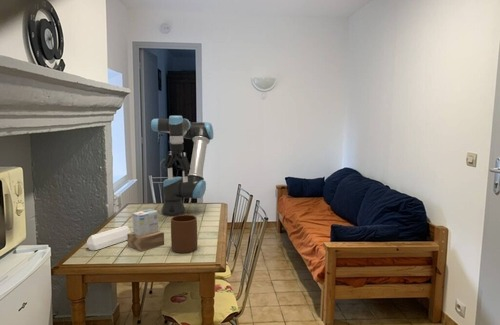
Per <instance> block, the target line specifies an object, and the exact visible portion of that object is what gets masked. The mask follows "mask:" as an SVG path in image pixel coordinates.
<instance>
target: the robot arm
mask: <svg viewBox="0 0 500 325" xmlns="http://www.w3.org/2000/svg"><path fill="white" fill-rule="evenodd" d="M150 129H151V130H152V131H153V132H158V133H159V132H161V133H168V134H169V143H170V144H169V150H170V151H169V150H168V151H167V156H166V160H165V164H164V166H165V168H166V170H167V178H166V179H164V180H163V183H162V184H163V186H162V187H163V203H162V207H161V208H162V209H161V215H162V216H166V217H175V216H179V215H184V214H185V213H186V208H185V205H184V202H183V199H201V198H203V197H204V196H205V193H206V188H207V183H206V181H205V179H204V177H203V172H204V166H205V160H206V153H207V152H206V151H207V147H208V144H210V141H211V140H213V139H214V129H213V125H212V123H211V122H208V121H207V122H205V121H204V122H203V121H201V122H200V121H199V122H198V121H197V122H196V121H195V122H194V121H193V122H191V121H189V119H187V118H183V116H182V115H169V117H168V118H153V119H152V120H151V121H150ZM184 139H187V140H192V142H193V148H192V154H191V160H190V163H189V160H188V156H187V152H183V151H184V147H185V146H184ZM175 161H178V162H179V164H180V166H181V167H182V176H174V175H173V165H174V163H175Z"/></svg>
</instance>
